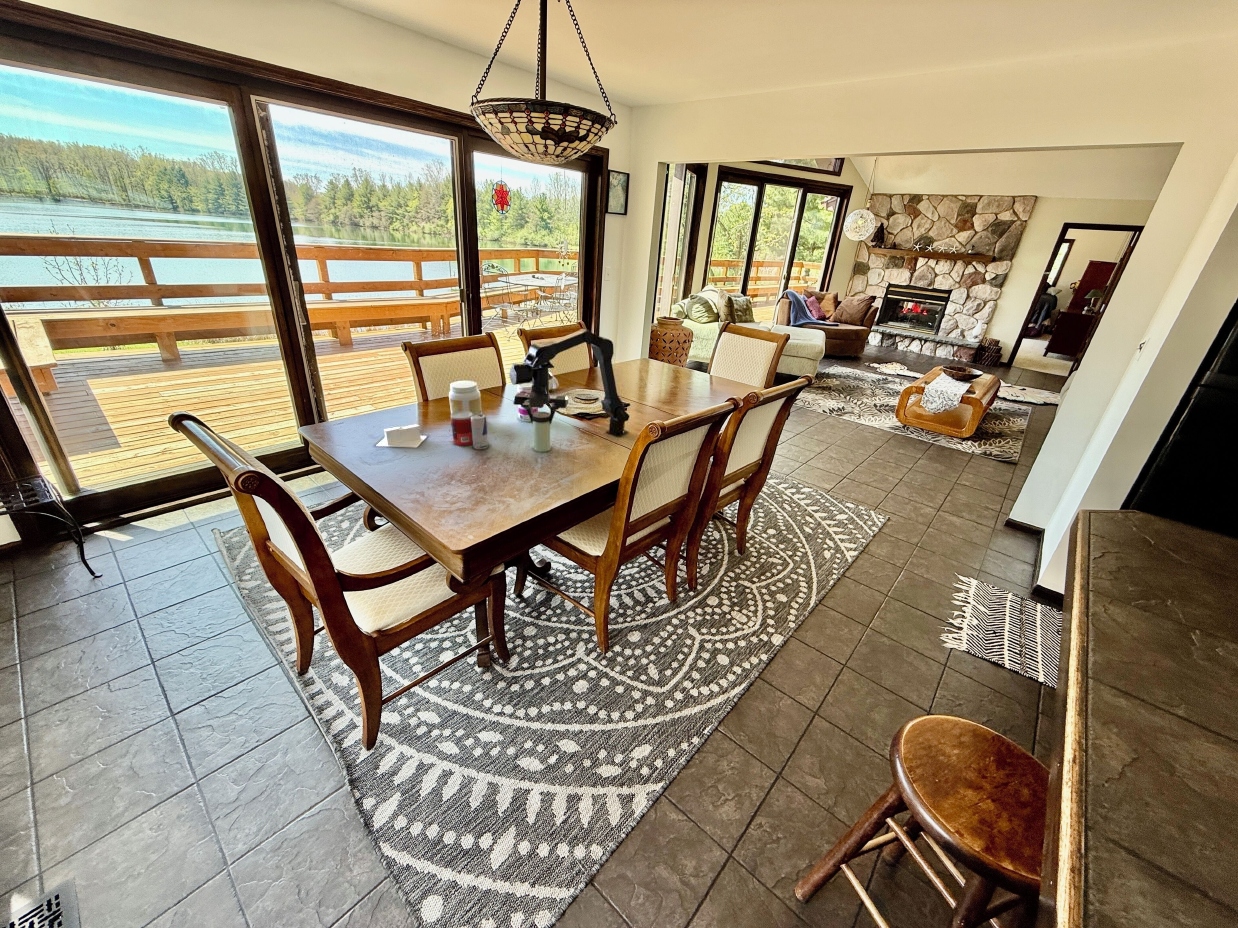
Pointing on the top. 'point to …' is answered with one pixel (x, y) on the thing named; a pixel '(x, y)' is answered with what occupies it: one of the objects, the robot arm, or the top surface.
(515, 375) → the robot arm
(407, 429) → the napkin holder
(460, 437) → the canned food
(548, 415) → the lid
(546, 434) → the jar
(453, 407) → the supplement tub
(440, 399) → the top surface
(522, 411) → the supplement can
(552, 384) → the spread jar
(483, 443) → the energy drink
